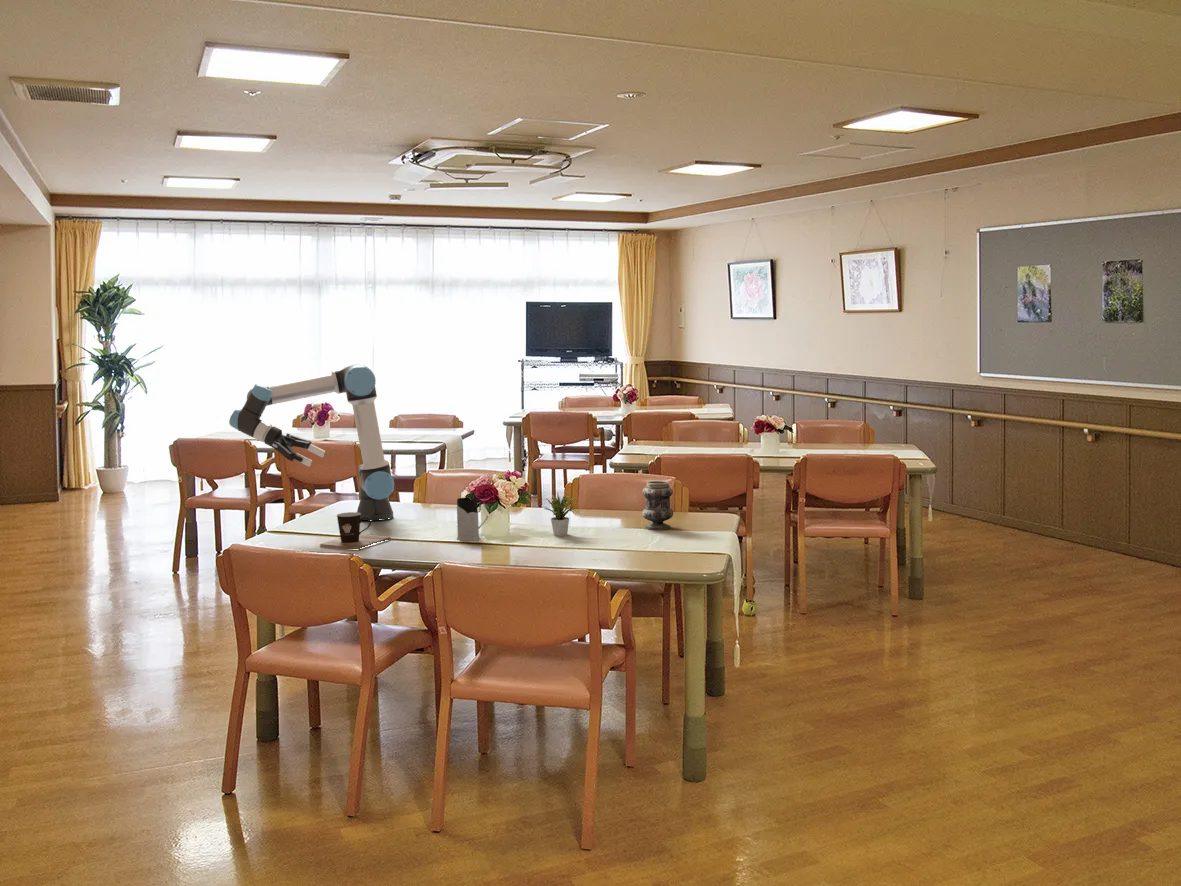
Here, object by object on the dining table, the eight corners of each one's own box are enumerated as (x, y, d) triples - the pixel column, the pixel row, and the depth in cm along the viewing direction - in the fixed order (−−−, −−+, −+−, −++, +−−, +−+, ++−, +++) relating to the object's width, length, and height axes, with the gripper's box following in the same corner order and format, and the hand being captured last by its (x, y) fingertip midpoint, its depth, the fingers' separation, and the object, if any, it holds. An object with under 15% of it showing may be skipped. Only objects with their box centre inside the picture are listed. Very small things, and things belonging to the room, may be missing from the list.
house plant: (575, 539, 411) (574, 496, 409) (538, 538, 413) (537, 495, 412) (582, 531, 425) (582, 489, 423) (547, 531, 427) (546, 489, 425)
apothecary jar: (673, 524, 436) (673, 479, 433) (673, 530, 424) (672, 484, 422) (643, 524, 437) (642, 479, 435) (641, 530, 425) (640, 484, 423)
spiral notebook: (353, 536, 423) (353, 533, 423) (390, 539, 416) (390, 536, 416) (320, 547, 405) (320, 543, 405) (358, 550, 398) (358, 547, 398)
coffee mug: (333, 542, 407) (331, 515, 406) (348, 538, 415) (347, 511, 414) (358, 544, 402) (357, 517, 401) (373, 540, 410) (372, 513, 408)
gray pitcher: (452, 538, 417) (451, 498, 415) (484, 533, 425) (483, 494, 424) (464, 541, 410) (462, 501, 408) (496, 536, 418) (495, 497, 417)
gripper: (278, 434, 441) (325, 458, 441) (251, 451, 417) (301, 476, 417) (284, 418, 439) (332, 442, 438) (258, 433, 415) (308, 459, 415)
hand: (317, 459), depth 428 cm, fingers open, 13 cm apart
